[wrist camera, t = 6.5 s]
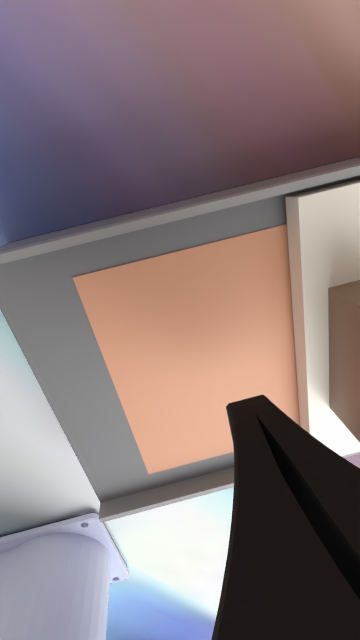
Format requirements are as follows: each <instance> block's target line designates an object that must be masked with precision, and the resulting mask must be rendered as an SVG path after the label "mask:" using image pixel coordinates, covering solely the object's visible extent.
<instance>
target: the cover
mask: <svg viewBox="0 0 360 640" xmlns="http://www.w3.org/2000/svg"><path fill="white" fill-rule="evenodd" d="M285 202H286V217H287V232H288V248H289V263H290V278H291V293H292V308H293V323H294V338H295V353H296V368H297V384H298V399H299V414H300V426H301V427H302V428H303V429H304V430H306V431H307V432H308V433H310V434H311V435H312V436H313V437H315V438H316V439H317V440H319V441H320V442H321V443H323V444H324V445H326V446H327V447H328V448H330V449H331V450H333V451H334V452H335V453H337V454H338V455H340V456H344V455H348V454H351V453H355V452H359V451H360V178H359V179H355V180H351V181H347V182H343V183H339V184H335V185H331V186H327V187H323V188H319V189H315V190H311V191H307V192H303V193H299V194H295V195H291V196H287V197H285Z"/></svg>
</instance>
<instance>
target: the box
mask: <svg viewBox="0 0 360 640" xmlns="http://www.w3.org/2000/svg"><path fill="white" fill-rule="evenodd" d="M359 178H360V157H359V158H352V159H348V160H344V161H340V162H336V163H332V164H328V165H324V166H320V167H316V168H312V169H308V170H304V171H299V172H295V173H291V174H287V175H283V176H279V177H275V178H271V179H267V180H263V181H259V182H255V183H251V184H247V185H243V186H238V187H234V188H230V189H226V190H222V191H218V192H214V193H210V194H206V195H202V196H198V197H194V198H190V199H186V200H182V201H177V202H173V203H169V204H165V205H161V206H157V207H153V208H149V209H145V210H141V211H137V212H133V213H129V214H125V215H121V216H116V217H112V218H108V219H104V220H100V221H96V222H92V223H88V224H84V225H80V226H76V227H72V228H68V229H64V230H60V231H55V232H51V233H47V234H43V235H39V236H35V237H31V238H27V239H23V240H19V241H15V242H11V243H7V244H5V245H3V246H0V309H1V311H2V313H3V315H4V317H5V319H6V321H7V323H8V325H9V326H10V328H11V330H12V332H13V334H14V336H15V338H16V340H17V342H18V344H19V346H20V348H21V350H22V352H23V354H24V356H25V357H26V359H27V361H28V363H29V365H30V367H31V369H32V371H33V373H34V375H35V377H36V379H37V381H38V383H39V385H40V386H41V388H42V390H43V392H44V394H45V396H46V398H47V400H48V402H49V404H50V406H51V408H52V410H53V412H54V414H55V415H56V417H57V419H58V421H59V423H60V425H61V427H62V429H63V431H64V433H65V435H66V437H67V439H68V441H69V443H70V444H71V446H72V448H73V450H74V452H75V454H76V456H77V458H78V460H79V462H80V464H81V466H82V468H83V470H84V472H85V474H86V475H87V477H88V479H89V481H90V483H91V485H92V487H93V489H94V491H95V493H96V495H97V497H98V499H99V501H100V511H99V521H100V523H101V522H105V521H109V520H112V519H116V518H120V517H124V516H127V515H131V514H135V513H138V512H142V511H146V510H150V509H153V508H157V507H161V506H165V505H168V504H172V503H176V502H180V501H183V500H187V499H191V498H194V497H198V496H202V495H206V494H209V493H213V492H217V491H221V490H224V489H228V488H232V487H234V446H233V440H232V435H231V430H230V425H229V420H228V415H227V410H226V406H227V405H228V403H232V402H236V401H240V400H243V399H247V398H251V397H255V396H258V395H262V394H263V395H264V396H266V397H267V398H268V399H269V400H270V401H271V402H273V403H274V404H275V405H276V406H277V407H278V408H279V409H280V410H281V411H283V412H284V413H285V414H286V415H287V416H288V417H290V418H291V419H292V420H293V421H294V422H296V423H297V424H298V425H299V426H300V414H299V399H298V384H297V368H296V353H295V338H294V323H293V308H292V293H291V278H290V263H289V248H288V232H287V217H286V202H285V197H287V196H291V195H295V194H299V193H303V192H307V191H311V190H315V189H319V188H323V187H327V186H331V185H335V184H339V183H343V182H347V181H351V180H355V179H359ZM359 453H360V451H359V452H355V453H351V454H348V455H344V456H341V457H343V458H344V457H348V456H351V455H355V454H359Z"/></svg>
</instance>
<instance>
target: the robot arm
mask: <svg viewBox="0 0 360 640" xmlns="http://www.w3.org/2000/svg"><path fill="white" fill-rule="evenodd" d="M226 410H227V415H228V420H229V425H230V430H231V435H232V440H233V446H234V497H233V511H232V522H231V531H230V540H229V548H228V555H227V561H226V567H225V573H224V579H223V585H222V591H221V597H220V602H219V608H218V612H217V617H216V622H215V626H214V631H213V636H212V640H360V468H358V467H356V466H355V465H353V464H352V463H350V462H349V461H347V460H346V459H344V458H343V457H341V456H340V455H338V454H337V453H335V452H334V451H333V450H331V449H330V448H328V447H327V446H326V445H324V444H323V443H321V442H320V441H319V440H317V439H316V438H315V437H313V436H312V435H311V434H310V433H308V432H307V431H306V430H304V429H303V428H302V427H301V426H299V425H298V424H297V423H296V422H294V421H293V420H292V419H291V418H290V417H288V416H287V415H286V414H285V413H284V412H283V411H281V410H280V409H279V408H278V407H277V406H276V405H275V404H274V403H273V402H271V401H270V400H269V399H268V398H267V397H266V396H264V395H263V394H262V395H258V396H255V397H251V398H247V399H243V400H240V401H236V402H232V403H228V405H227V406H226ZM128 577H129V570H128V568H127V567H126V565H125V563H124V561H123V559H122V557H121V555H120V554H119V552H118V550H117V548H116V546H115V544H114V542H113V540H112V539H111V537H110V535H109V533H108V531H107V529H106V527H105V525H104V524H103V522H101V523H100V521H99V515H98V514H96V513H89V514H86V515H82V516H78V517H75V518H71V519H67V520H63V521H60V522H56V523H52V524H48V525H45V526H41V527H37V528H33V529H30V530H26V531H22V532H18V533H15V534H11V535H7V536H3V537H0V640H106V632H107V618H108V604H109V590H110V584H112V583H116V582H120V581H123V580H126V579H127V578H128Z"/></svg>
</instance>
